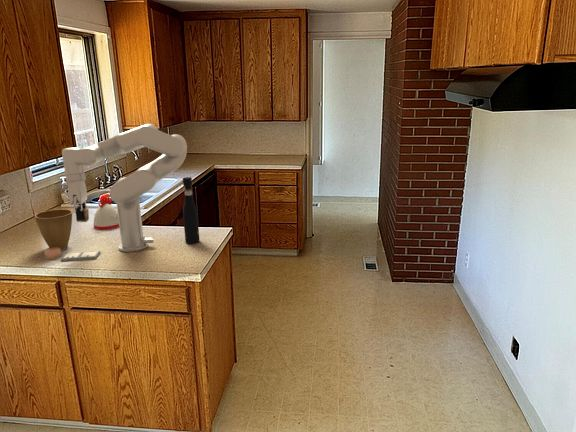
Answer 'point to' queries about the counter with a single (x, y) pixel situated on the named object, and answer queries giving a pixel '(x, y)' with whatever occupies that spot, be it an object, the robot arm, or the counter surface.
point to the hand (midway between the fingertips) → (82, 218)
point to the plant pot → (55, 227)
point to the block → (86, 214)
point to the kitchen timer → (106, 216)
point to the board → (80, 256)
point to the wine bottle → (190, 214)
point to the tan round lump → (52, 253)
